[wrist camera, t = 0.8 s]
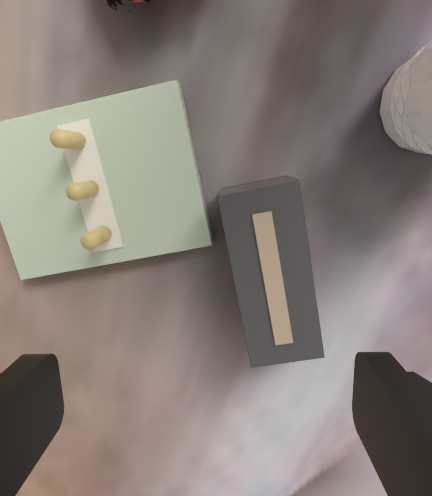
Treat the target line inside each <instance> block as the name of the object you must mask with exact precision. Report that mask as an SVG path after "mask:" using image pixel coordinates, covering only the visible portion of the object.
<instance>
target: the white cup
mask: <svg viewBox="0 0 432 496" xmlns="http://www.w3.org/2000/svg"><path fill="white" fill-rule="evenodd" d="M380 116H381V119H382V123H383V126H384V130H385V133H386V134H387V135H388V136H389V137H390V138H391V139H392V140H393V141H394V142H395V143H396V144H397V145H398V146H399V147H401V148H404V149H407V150H411V151H414V152H417V153H425V154H431V155H432V40H431V41H430V42H429V43H428V44H426V45H425V46H424V47H422V48H421V49H420V50H419V51H418V52H417V53H416V54H415V55H414V56H413V57H412V58H411V59H409V60H408V61H407V62H405V63H404V64H402V65H401V66H399V67H398V68H397V69H396V70H395V72H394V73H393V75H392V76H391V78H390V80H389V81H388V83H387V84H386V86H385V87H384V89H383V94H382V100H381V106H380Z"/></svg>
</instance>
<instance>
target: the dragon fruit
mask: <svg viewBox="0 0 432 496" xmlns="http://www.w3.org/2000/svg"><path fill="white" fill-rule="evenodd" d="M130 1H132V2H136V3H138V2H150V0H130ZM115 2H118V3H119V4H121V5H123V4H122V2H121V0H107V3H108V5H109V6H110V7H111V8H112V9H114V10H116V11H117V6H118V5H117V4H116V3H115ZM123 6H124V5H123ZM128 11H129V10H128ZM129 12H130V11H129ZM131 14H132V12H131Z"/></svg>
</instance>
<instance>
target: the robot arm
mask: <svg viewBox="0 0 432 496" xmlns="http://www.w3.org/2000/svg"><path fill="white" fill-rule="evenodd" d="M352 412H353V419H354V424H355V427H356V430H357V433H358V435H359V437H360V439H361V441H362V443H363V445H364V447H365V449H366V451H367V453H368V455H369V457H370V460H371V462H372V464H373V466H374V468H375V470H376V472H377V474H378V476H379V478H380V480H381V482H382V485H383V486H384V488H385V491H386V493H387V495H388V496H432V383H431V382H429V381H428V380H426V379H425V378H423V377H421V376H420V375H418V374H416V373H415V372H406V371H405V369H404V368H403V367H402V366H401V365H400V364H399V362H398V361H397V360H396V359H395V358H394V357H393V356H392V354H391V353H389V352H358V353H357V355H356V357H355V367H354V383H353V400H352ZM63 414H64V401H63V394H62V387H61V380H60V373H59V366H58V360H57V358H56V356H55V355H54V354H24V355H22V356H20V357H19V358H18V359H17V360H16V361H15V362H14V363H12V364H11V365H10V366H9V367H8V368H7V369H6V370H5V371H3V372H2V373H0V496H15V495H16V494H17V492H18V491H19V489H20V488H21V486H22V485H23V483H24V482H25V480H26V479H27V477H28V476H29V474H30V472H31V471H32V469H33V468H34V466H35V465H36V463H37V462H38V460H39V459H40V457H41V456H42V454H43V453H44V451H45V450H46V448H47V447H48V445H49V444H50V442H51V441H52V439H53V438H54V436H55V435H56V433H57V431H58V430H59V428H60V425H61V423H62V419H63Z"/></svg>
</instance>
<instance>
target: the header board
mask: <svg viewBox="0 0 432 496" xmlns="http://www.w3.org/2000/svg"><path fill="white" fill-rule="evenodd" d="M0 222H1V225H2V228H3V230H4V233H5V236H6V239H7V242H8V245H9V248H10V251H11V253H12V256H13V259H14V262H15V265H16V268H17V271H18V274H19V276H20V279H21V280H24V279H30V278H35V277H41V276H46V275H52V274H57V273H63V272H68V271H74V270H80V269H85V268H91V267H96V266H102V265H107V264H113V263H118V262H124V261H129V260H135V259H140V258H146V257H151V256H157V255H162V254H168V253H173V252H179V251H184V250H190V249H196V248H201V247H207V246H212V244H213V237H212V232H211V227H210V222H209V218H208V213H207V208H206V203H205V198H204V194H203V189H202V184H201V179H200V174H199V170H198V165H197V160H196V155H195V150H194V146H193V141H192V136H191V131H190V126H189V122H188V117H187V112H186V107H185V102H184V98H183V93H182V88H181V84H180V82H179V81H178V80H172V81H168V82H164V83H160V84H155V85H151V86H147V87H143V88H139V89H134V90H130V91H126V92H122V93H117V94H113V95H109V96H105V97H101V98H96V99H92V100H88V101H84V102H80V103H75V104H71V105H67V106H63V107H58V108H54V109H50V110H46V111H42V112H37V113H33V114H29V115H25V116H21V117H16V118H12V119H8V120H4V121H0Z"/></svg>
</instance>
